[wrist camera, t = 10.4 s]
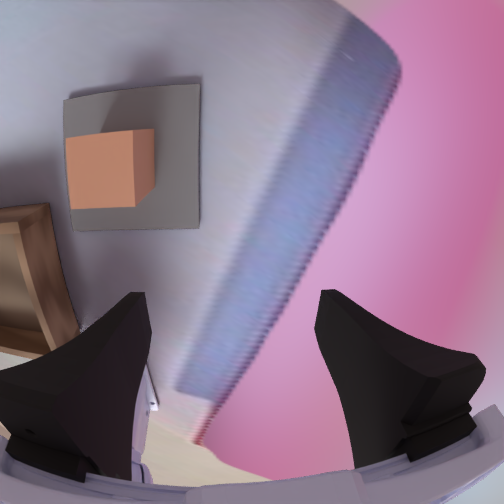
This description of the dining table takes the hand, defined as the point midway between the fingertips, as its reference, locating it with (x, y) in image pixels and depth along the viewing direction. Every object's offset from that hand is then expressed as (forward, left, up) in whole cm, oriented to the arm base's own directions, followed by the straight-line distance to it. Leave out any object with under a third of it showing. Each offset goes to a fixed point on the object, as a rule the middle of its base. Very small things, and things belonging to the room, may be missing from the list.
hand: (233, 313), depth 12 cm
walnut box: (-4, +22, -10) cm, 25 cm away
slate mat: (+5, +7, -10) cm, 13 cm away
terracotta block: (+5, +7, -10) cm, 13 cm away
